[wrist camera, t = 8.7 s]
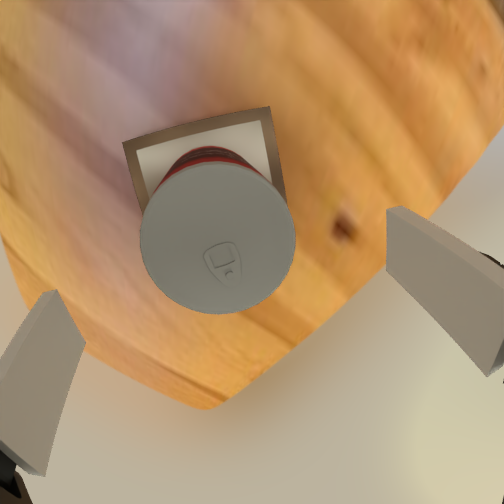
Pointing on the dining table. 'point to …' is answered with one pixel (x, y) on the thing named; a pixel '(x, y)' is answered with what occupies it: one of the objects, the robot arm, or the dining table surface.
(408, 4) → the dining table surface
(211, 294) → the canned food
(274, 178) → the base block
